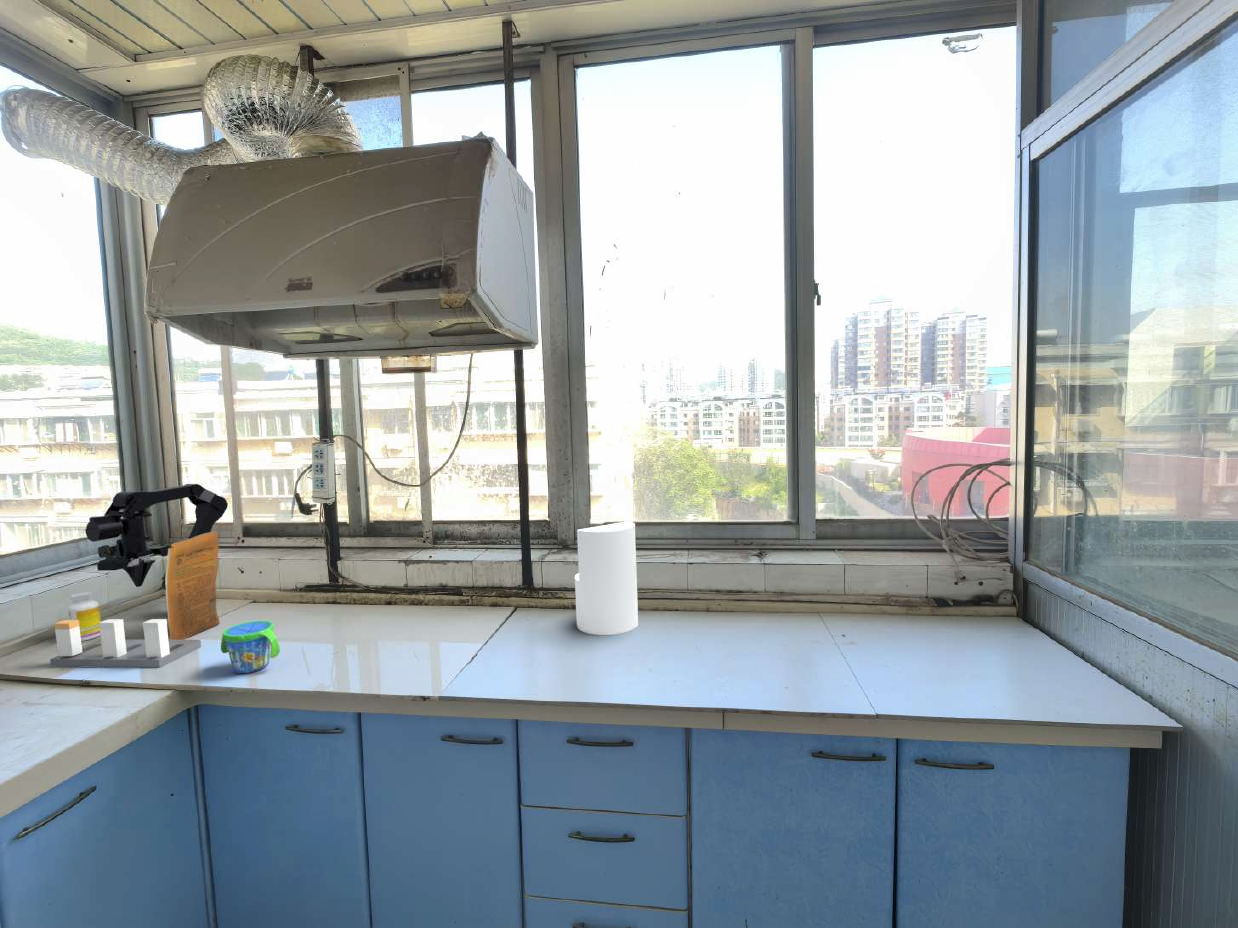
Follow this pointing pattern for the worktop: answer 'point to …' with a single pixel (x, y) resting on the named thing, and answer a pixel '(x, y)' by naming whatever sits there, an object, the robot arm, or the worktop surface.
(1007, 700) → the worktop surface
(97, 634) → the supplement bottle
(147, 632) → the grey plate with uprights
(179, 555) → the pancake mix bag
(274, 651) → the snack cup
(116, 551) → the robot arm
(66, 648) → the block
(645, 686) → the worktop surface
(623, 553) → the cylinder
